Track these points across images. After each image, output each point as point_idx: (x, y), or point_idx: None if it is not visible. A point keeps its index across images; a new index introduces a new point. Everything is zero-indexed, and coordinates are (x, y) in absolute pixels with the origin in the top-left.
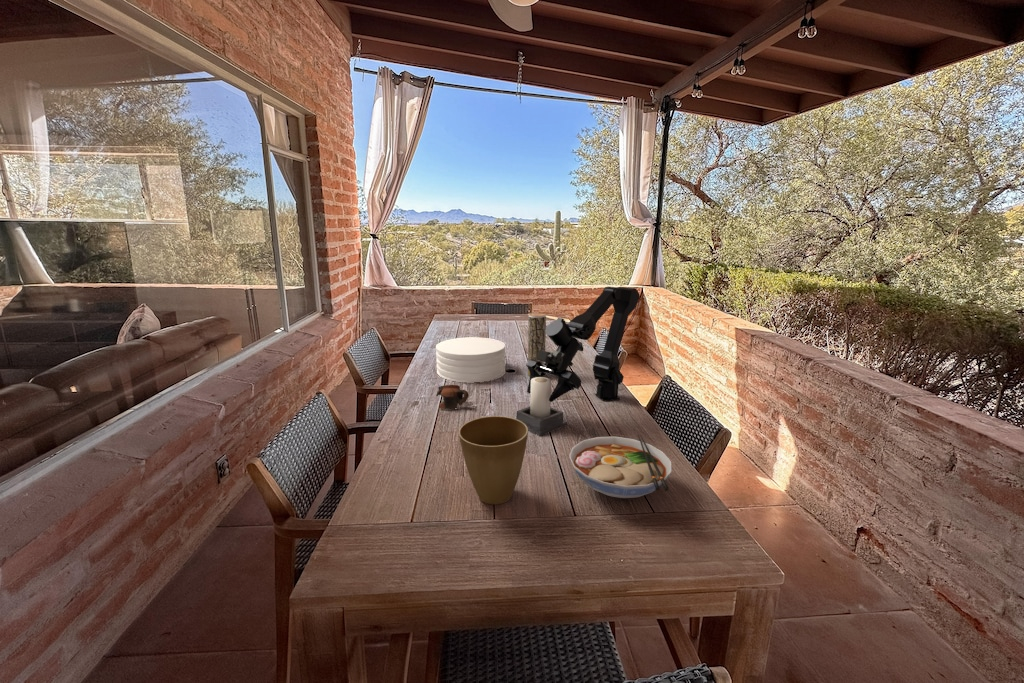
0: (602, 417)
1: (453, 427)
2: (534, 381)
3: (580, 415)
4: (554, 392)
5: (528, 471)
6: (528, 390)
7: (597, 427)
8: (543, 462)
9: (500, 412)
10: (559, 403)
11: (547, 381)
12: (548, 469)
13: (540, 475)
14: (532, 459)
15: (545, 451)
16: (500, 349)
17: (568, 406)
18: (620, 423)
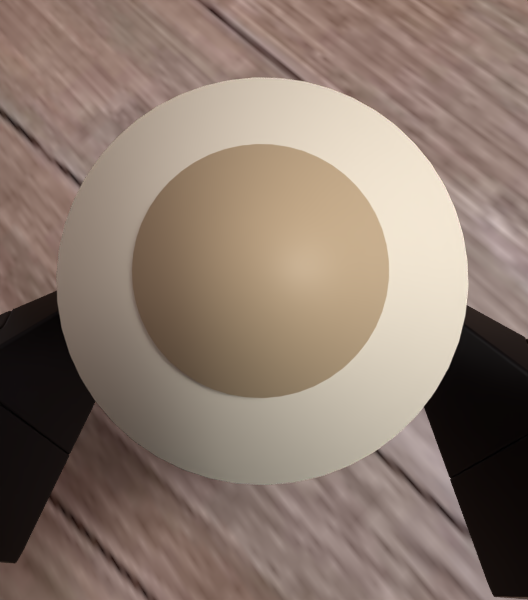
0: (107, 578)
1: (481, 44)
2: (300, 130)
3: (196, 519)
4: (53, 297)
5: (56, 22)
6: None
7: (66, 462)
8: (55, 92)
9: (475, 274)
10: (365, 571)
11: (120, 314)
12: (17, 72)
13: (14, 30)
14: (95, 81)
15: (97, 150)
16: None
17: (306, 572)
18: (10, 579)
